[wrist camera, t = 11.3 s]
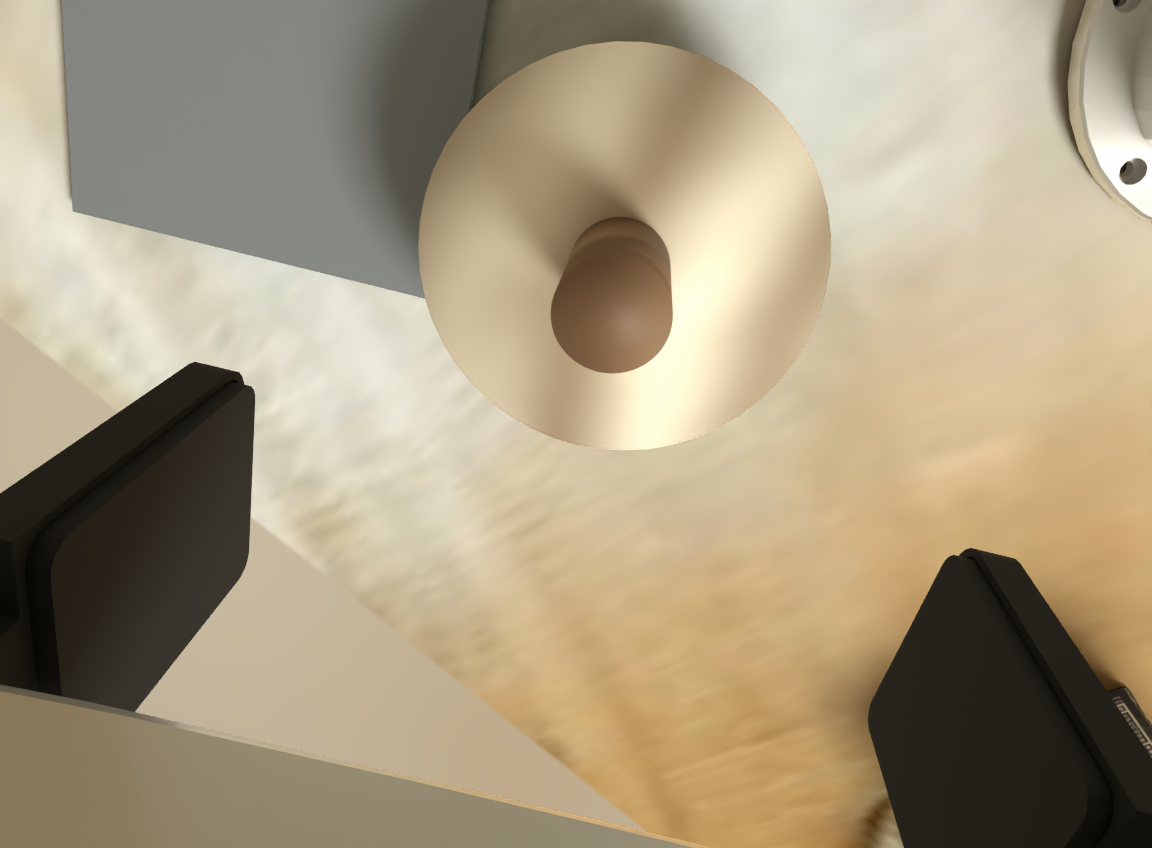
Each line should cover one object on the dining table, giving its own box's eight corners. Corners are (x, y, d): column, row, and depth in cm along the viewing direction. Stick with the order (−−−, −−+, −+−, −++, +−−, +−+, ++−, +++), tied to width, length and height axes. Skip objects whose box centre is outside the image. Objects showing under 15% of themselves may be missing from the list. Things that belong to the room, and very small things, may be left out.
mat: (510, -136, 26) (507, -139, 26) (442, 297, 33) (439, 301, 32) (60, -250, 26) (47, -257, 26) (82, 208, 33) (72, 211, 32)
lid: (888, 98, 24) (956, 116, 18) (752, 473, 29) (773, 570, 24) (457, -6, 24) (397, -20, 18) (404, 390, 29) (346, 470, 24)
